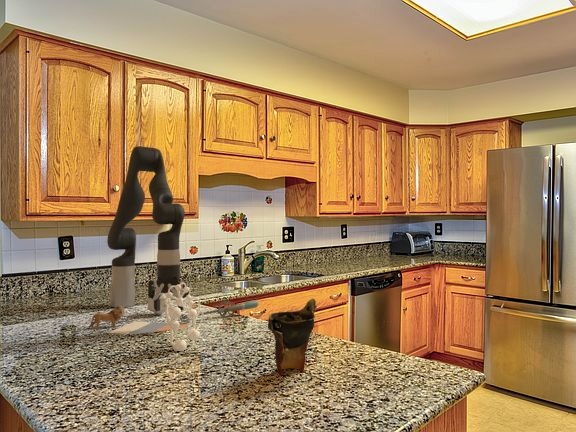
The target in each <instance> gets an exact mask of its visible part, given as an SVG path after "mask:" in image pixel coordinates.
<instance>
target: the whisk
mask: <svg viewBox="0 0 576 432" xmlns="http://www.w3.org/2000/svg"><path fill="white" fill-rule="evenodd" d="M222 304H223V305H224V307H221V306H222ZM227 304H230V305H228V306H227ZM258 306H259V301H258V300H255V299H253V300H250V301H249V300H248V301H245V302H244V301H243V302H241V303H237V304H234V303H233V302H231V301H230V300H223V301H221V302H220V303H219V304H218V308H217V309H215V310H211V311H205V312H204V311H203V314H204V316H205V315H210V314H214V313H217V314H219V315H220V316H221V317H222V318H223V319H226V318H225V317H226V314H227V313H228V316H227V317H230V318H232V316H233V315H234V314H235V311H236V312H237V311H242V310H251V309H256V308H257V307H258ZM187 312H188V311H185V312H184V313H187ZM231 312H232V313H231ZM200 316H202V313H201V312H200V314H199V315H198V316H197V317H200ZM179 320H180V321H181V322H183V323H184V322H190V321H192V319H189V318H188V317H187V315H182V314H181V316H180V317H179Z"/></svg>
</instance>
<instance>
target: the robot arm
mask: <svg viewBox="0 0 576 432" xmlns="http://www.w3.org/2000/svg"><path fill="white" fill-rule="evenodd" d="M163 157H164V156H163V154H162V151H161V150H160V149H159V148H156V147H148V146H142V145H137V146H134V147H133V149H132V150H131V154H130V157H129V160H128V161H129V162H128V165H127V166H128V167H127V172H126V176H125V177H126V178H125V182H124V185H123V187H122V191H121V194H120V198H119V201H118V204H117V209H116V212H115V216H114V219H113V221H112V224H111V226H110V228H109V231H108V234H107V241H106V242H107V246H108V248H109V249H111V250H112V251H113V250H114V251H119V250H120V251H122V250H124V252H123V253H122V254H121V255H119V256H117V257H115V258H112V260H111V283H109V307H113V308H116V307H117V306H123V307H124V308H130V307H131V308H132V307H134V306H136V305H135V304H136V298H135V297H136V284H135V283H136V278H135V277H136V272H135V271H136V267H135V265H136V249H137V233H136V231H135V229H134V228H132V227H126V226H127V225H128V224H129V223H130V222H131V221H133V220H134V219H135V218H137V216H139V214H140V213H141V212H142V210H143V207H144V203H145V201H146V193H145V191H144V189H143V187H142V184H141V183H140V179H139V178H138V176H139V175H138V174H139V173H140V172H146V173H154V176H153V177H152V178H151V179H150V180H149V183H148V191H149V192H148V193H149V195H150V198H151V201H152V210H151V211H152V213H151V218H152V220H153V222H155V224H158V225H171V227H170V228H169V229H168V230H164V231H161V232H159V233H158V234H157V254H156V277H157V280H155V279H150V280H148V282H147V283H148V286H147V287H148V289H147V291H148V292H147V295H148V296H147V297H149V298H152V299H153V300H154V310H155V311H160V299H159V298H160V297H161V295H162V294H163V293H168V289H169V288H170V287H171V286H176V285H179V284H180V283H185V284H186V287H189V288H190V281H189V280H181V253H180V237H181V231H182V228H183V227H182V226H183V223H184V219H185V216H186V214H185V213H186V211H185V208H184V207H183V205H182V204H180V203H176V202H175V203H173V201H174V196H173V193H172V191H171V188H170V185H169V183H168V180H167V173H166V168H165V161H164V158H163ZM156 286H157V287H158V289H157V290H156ZM180 286H181V290H179V291H180V295H182V293H183V292H184V291H183V290H182V289H183V288H184V287H185V285H184V284H181V285H180ZM156 291H157V292H156ZM155 292H156V294H155ZM170 292H171V293H172V294H173V296H174V297H176V298H178V293H177V290H176V289H175V287H172V288H171V289H170ZM188 294H189V291H188V292H187V293H185V294H184V295H183V297H182V298H186V296H187V295H188ZM184 301H185V300H184ZM184 301H183V304H184V305H185V302H184ZM177 307H178V308H180V310H181V312H183V311H184V310H185V309H184V308H183V307H182V306H178V305H177Z"/></svg>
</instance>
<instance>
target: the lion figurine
mask: <svg viewBox="0 0 576 432" xmlns="http://www.w3.org/2000/svg"><path fill="white" fill-rule="evenodd" d="M124 314H125V307H123V306H117V307H114V309H111V310H110V311H109V312H107V313H106V312H105V313H103V312H97V313H94V315H92V318H91V322H90V325H89V326H88V328H87V330H89V329H95V328H97V330H102V328H101V327H100V323H101V321H102V322H106V323H109V322H111V327H112V328H113V329H115V328H116V329H117V326H116V325H117V322H116V321H118V320H119V321H121V319H122V317H124ZM95 325H96V326H95Z"/></svg>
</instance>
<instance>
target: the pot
mask: <svg viewBox="0 0 576 432" xmlns="http://www.w3.org/2000/svg"><path fill="white" fill-rule="evenodd" d="M316 309H317V302H316V299H315V298H310V299H309V300H308V301H307V302H306V304H305V306H303V308H301V309H299V310H292V311H278V312H274V313H273V312H272V313H270V315H269V316H268V321H267V322H268V323H267V328H268V330H269V331H271V332H272V335H273V336H274V339H275V340H274V341H275V342H274V343H275V344H274V355H275V356H274V357H275V364H276V370H277V374H279V375H280V376H283V374H284V371H283V370H287V369H297V370H300V371H303V372H304V371H305V367H306V353H307V350H308V346H309V341H310V338H311V334H312V332H313V330H314V327H316V326H315V319H316V315H315V313H316Z"/></svg>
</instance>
